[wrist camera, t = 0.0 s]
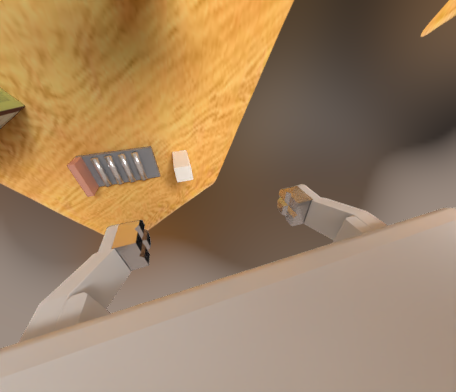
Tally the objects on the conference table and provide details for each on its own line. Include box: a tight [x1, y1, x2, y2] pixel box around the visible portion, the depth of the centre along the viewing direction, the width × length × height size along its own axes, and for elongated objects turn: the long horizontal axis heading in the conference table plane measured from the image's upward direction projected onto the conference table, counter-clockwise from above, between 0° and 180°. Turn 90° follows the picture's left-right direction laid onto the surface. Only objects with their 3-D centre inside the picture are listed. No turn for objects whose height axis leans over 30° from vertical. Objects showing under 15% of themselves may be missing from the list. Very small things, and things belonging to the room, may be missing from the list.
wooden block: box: [172, 150, 193, 182], centre depth 52 cm, size 4×4×12 cm
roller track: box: [67, 146, 160, 197], centre depth 50 cm, size 10×20×6 cm, turn 92°
